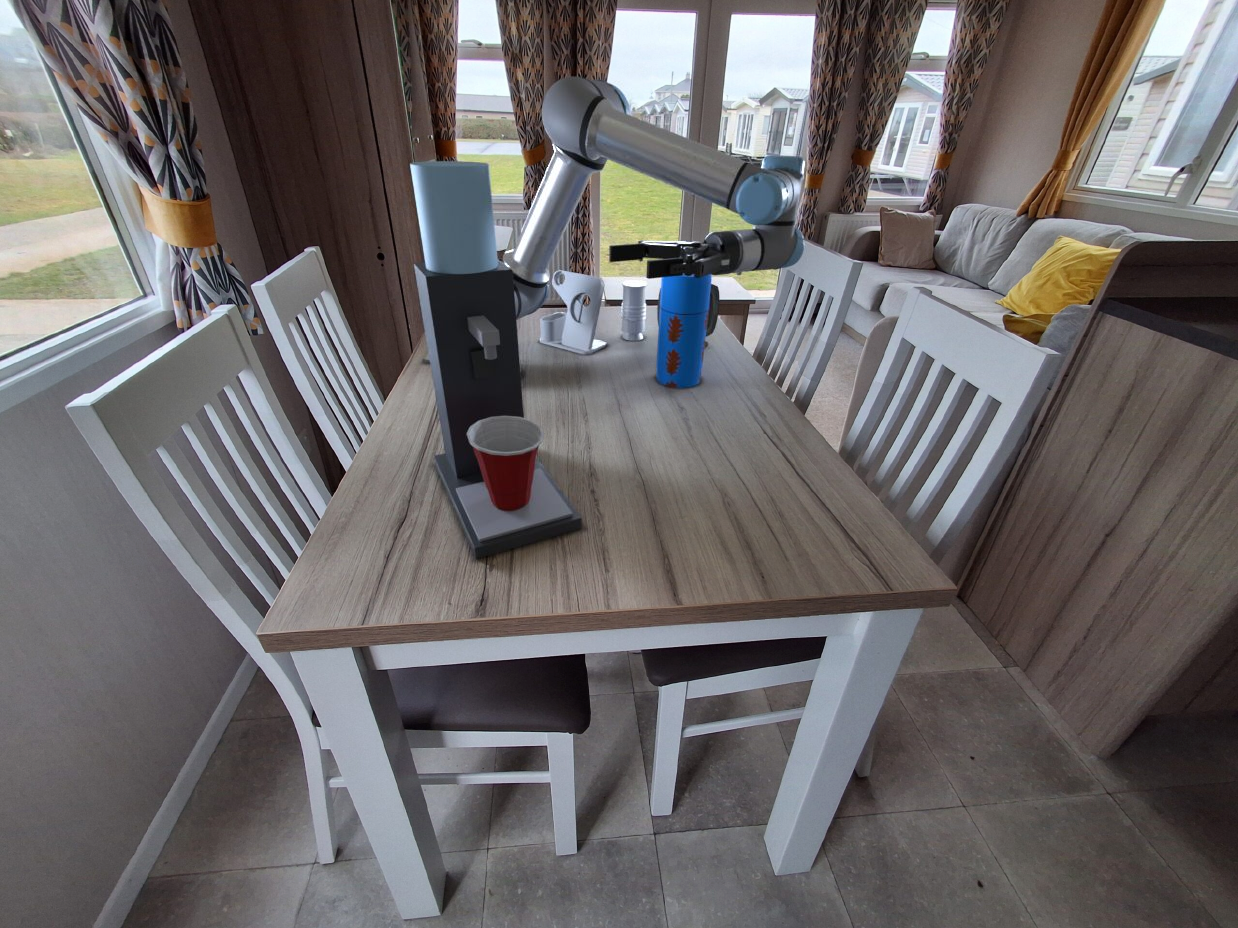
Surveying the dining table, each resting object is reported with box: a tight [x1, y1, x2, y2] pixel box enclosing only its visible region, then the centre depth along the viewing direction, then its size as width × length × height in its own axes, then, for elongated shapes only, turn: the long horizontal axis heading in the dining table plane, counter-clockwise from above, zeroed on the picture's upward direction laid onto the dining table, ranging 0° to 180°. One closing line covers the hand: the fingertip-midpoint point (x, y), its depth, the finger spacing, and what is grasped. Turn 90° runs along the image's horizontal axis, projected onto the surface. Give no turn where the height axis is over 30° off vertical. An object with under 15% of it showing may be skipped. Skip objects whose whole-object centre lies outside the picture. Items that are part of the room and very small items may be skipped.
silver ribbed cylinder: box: [620, 279, 648, 342], centre depth 155 cm, size 7×7×15 cm
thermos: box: [656, 273, 712, 389], centre depth 127 cm, size 11×11×25 cm
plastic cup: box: [467, 416, 545, 511], centre depth 82 cm, size 11×11×12 cm
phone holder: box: [539, 269, 607, 356], centre depth 149 cm, size 17×10×18 cm, turn 55°
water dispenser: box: [409, 160, 583, 560], centre depth 79 cm, size 28×16×47 cm, turn 27°
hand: (627, 261), depth 95 cm, fingers open, 13 cm apart
